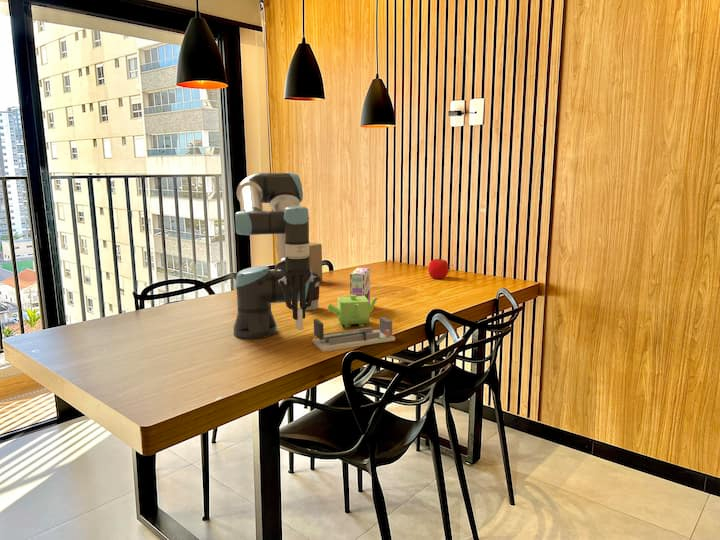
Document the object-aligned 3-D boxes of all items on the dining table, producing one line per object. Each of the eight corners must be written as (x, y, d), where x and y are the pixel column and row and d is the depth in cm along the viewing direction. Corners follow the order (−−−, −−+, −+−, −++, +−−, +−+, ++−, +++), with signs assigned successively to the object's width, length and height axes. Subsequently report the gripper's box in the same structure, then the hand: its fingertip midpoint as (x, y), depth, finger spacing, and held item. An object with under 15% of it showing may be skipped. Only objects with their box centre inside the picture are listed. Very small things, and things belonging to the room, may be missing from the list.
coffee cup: (326, 308, 216) (325, 273, 214) (308, 313, 209) (307, 276, 207) (310, 304, 223) (309, 270, 220) (292, 308, 216) (291, 273, 213)
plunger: (322, 347, 164) (321, 325, 163) (314, 339, 171) (313, 319, 170) (366, 340, 170) (366, 319, 169) (356, 333, 177) (356, 313, 176)
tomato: (428, 276, 281) (428, 256, 279) (448, 276, 279) (448, 256, 277) (428, 280, 271) (428, 259, 269) (448, 280, 269) (449, 260, 267)
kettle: (380, 322, 196) (380, 293, 194) (360, 332, 184) (359, 301, 182) (348, 316, 204) (347, 288, 202) (326, 325, 192) (325, 296, 190)
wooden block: (308, 279, 275) (307, 241, 271) (323, 281, 269) (322, 243, 265) (295, 282, 267) (294, 244, 263) (310, 284, 261) (309, 245, 257)
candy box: (364, 313, 208) (364, 273, 205) (349, 313, 209) (349, 273, 206) (370, 305, 221) (370, 267, 218) (357, 304, 222) (356, 267, 219)
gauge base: (322, 351, 164) (322, 333, 163) (312, 342, 173) (312, 324, 172) (395, 340, 175) (395, 322, 174) (381, 332, 184) (381, 315, 183)
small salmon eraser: (386, 337, 173) (386, 330, 173) (385, 336, 175) (385, 329, 174) (390, 336, 174) (390, 330, 173) (388, 335, 175) (388, 329, 175)
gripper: (280, 260, 155) (282, 335, 160) (321, 257, 160) (322, 329, 165) (273, 256, 162) (276, 327, 167) (313, 253, 167) (314, 322, 172)
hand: (299, 328), depth 166 cm, fingers closed
